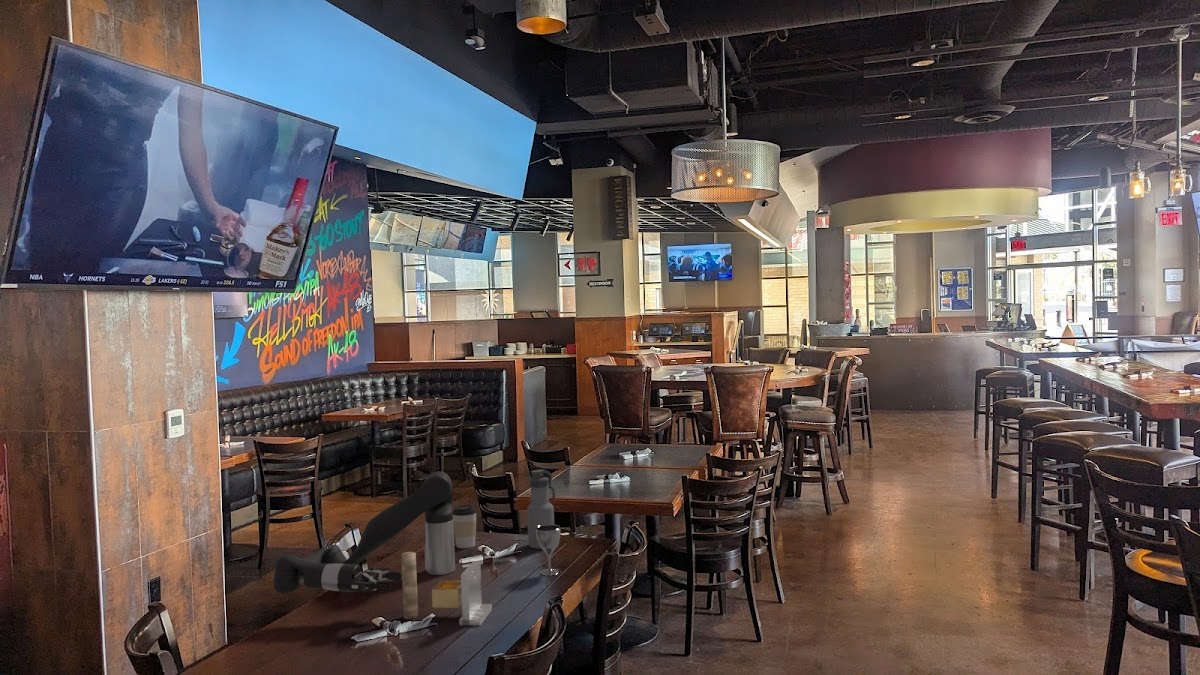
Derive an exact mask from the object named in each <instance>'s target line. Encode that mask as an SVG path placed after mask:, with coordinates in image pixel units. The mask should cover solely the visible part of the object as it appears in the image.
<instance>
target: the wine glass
mask: <svg viewBox="0 0 1200 675" xmlns="http://www.w3.org/2000/svg"><path fill="white" fill-rule="evenodd" d="M536 536H537V541H538V544H539V546H540V547H541V548H542V549H541V550H543V552H544V553H545V555H546V556H547V563H548V565H547V568H546V569H542V570H540V571H541V572H540V571H539V572H540V573H541V574H542V575H545V576H544V577H553V576H552V575H555V576H558V575H559V574H558V573H559V571H558V570H559V569H557V570H556V568H552V565H551V562H552V555H553V553H554V551H555V550H556V549H557V547H558V545H559V544H560V540H561V525H558V524H554V525H553V524H547V525H541V526H538V527H537V528H536ZM557 574H558V575H557ZM542 575H541V576H542ZM547 575H548V576H547Z"/></svg>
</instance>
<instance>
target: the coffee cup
mask: <svg viewBox="0 0 1200 675" xmlns="http://www.w3.org/2000/svg"><path fill="white" fill-rule="evenodd" d="M477 512H478V511H477V508H475V507H474V505H471V504H462V505H458V506H456V507H454V509H453V531H454V537H455V543H456V548H458V549H469V548H472V547H475V545H476V533H477V532H476V531H477Z"/></svg>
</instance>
